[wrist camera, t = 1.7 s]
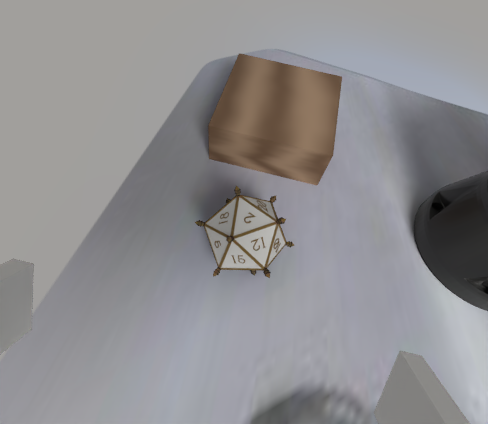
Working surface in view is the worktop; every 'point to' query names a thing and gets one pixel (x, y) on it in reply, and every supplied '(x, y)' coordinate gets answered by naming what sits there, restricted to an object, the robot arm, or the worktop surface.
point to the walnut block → (276, 119)
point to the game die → (245, 234)
